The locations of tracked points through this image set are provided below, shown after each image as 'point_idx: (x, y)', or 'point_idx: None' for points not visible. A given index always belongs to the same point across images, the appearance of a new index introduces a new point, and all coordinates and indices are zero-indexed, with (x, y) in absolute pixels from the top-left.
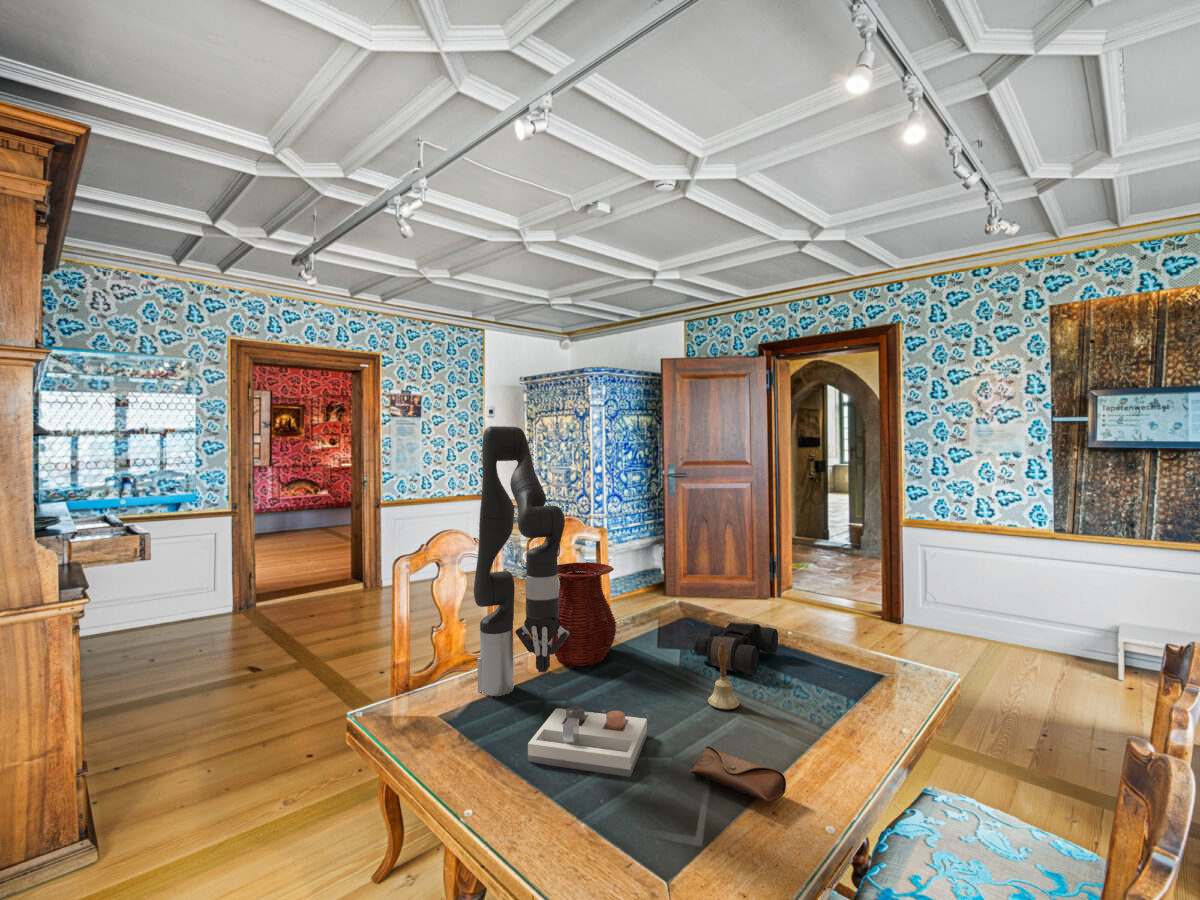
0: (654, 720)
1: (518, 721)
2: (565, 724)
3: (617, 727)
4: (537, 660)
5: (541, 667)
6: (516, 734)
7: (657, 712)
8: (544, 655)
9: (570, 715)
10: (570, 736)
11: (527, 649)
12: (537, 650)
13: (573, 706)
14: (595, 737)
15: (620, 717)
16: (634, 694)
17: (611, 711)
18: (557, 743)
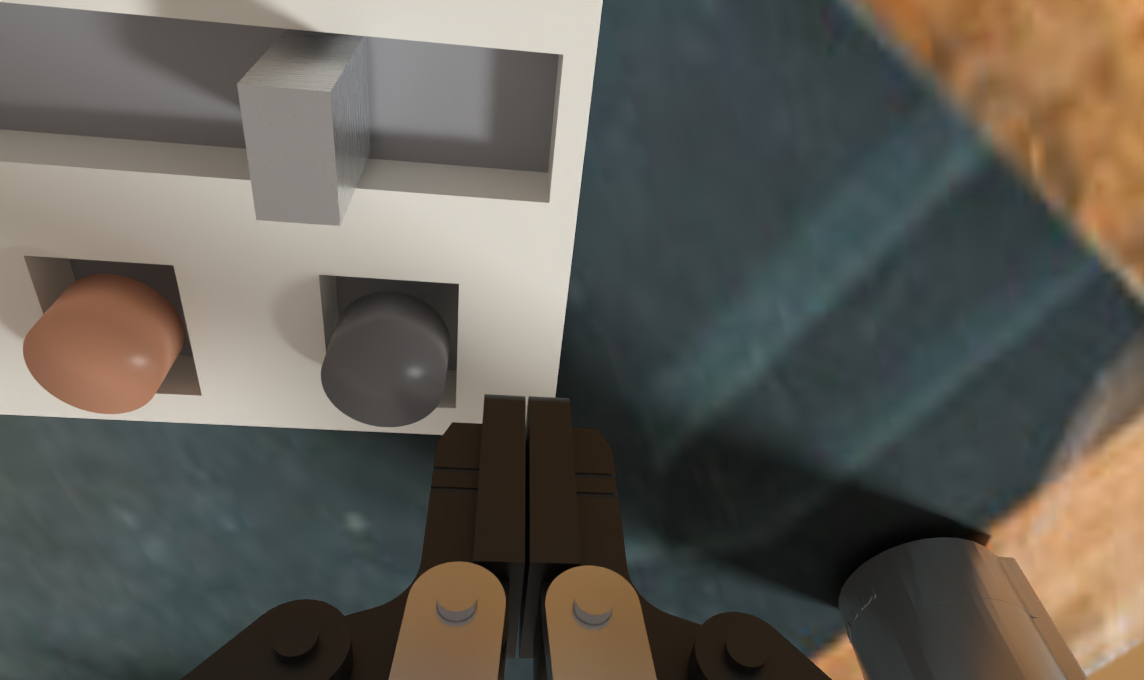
0: (67, 482)
1: (758, 376)
2: (318, 116)
3: (75, 286)
4: (595, 519)
5: (522, 433)
6: (741, 257)
7: (91, 543)
8: (460, 578)
9: (396, 328)
10: (282, 60)
11: (794, 656)
12: (595, 649)
13: (412, 419)
14: (176, 170)
15: (41, 339)
16: None
17: (141, 399)
18: (387, 28)
